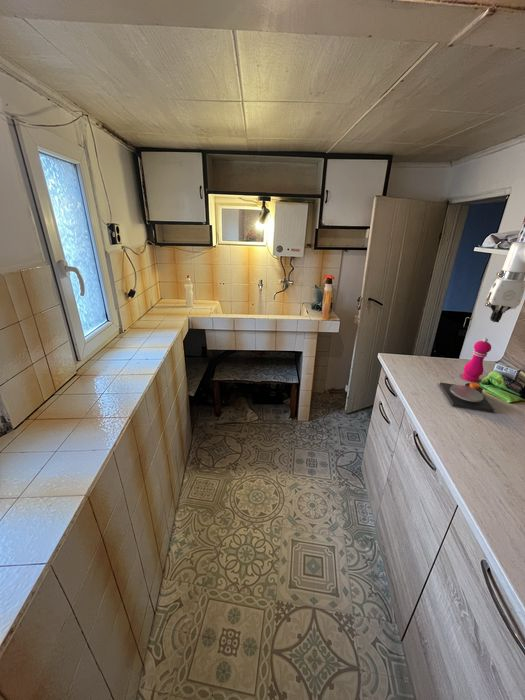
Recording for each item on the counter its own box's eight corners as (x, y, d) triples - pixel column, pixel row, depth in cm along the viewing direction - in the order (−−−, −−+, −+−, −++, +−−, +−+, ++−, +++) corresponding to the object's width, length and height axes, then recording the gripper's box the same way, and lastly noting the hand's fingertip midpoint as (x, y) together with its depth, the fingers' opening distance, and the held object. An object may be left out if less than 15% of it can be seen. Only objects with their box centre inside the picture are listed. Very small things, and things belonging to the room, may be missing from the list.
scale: (476, 390, 120) (479, 384, 118) (494, 413, 105) (498, 406, 104) (439, 385, 123) (441, 379, 121) (452, 406, 108) (454, 399, 107)
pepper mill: (460, 379, 128) (475, 338, 120) (460, 373, 134) (475, 333, 125) (479, 384, 124) (496, 343, 116) (479, 377, 130) (495, 337, 122)
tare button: (476, 386, 118) (477, 382, 117) (479, 390, 115) (481, 386, 114) (467, 385, 118) (469, 381, 117) (471, 389, 115) (472, 385, 115)
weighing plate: (475, 388, 115) (476, 387, 115) (488, 404, 105) (488, 402, 105) (446, 384, 117) (446, 383, 117) (455, 399, 108) (456, 397, 107)
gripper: (495, 276, 107) (478, 322, 114) (540, 279, 104) (520, 326, 111) (485, 273, 113) (470, 316, 121) (528, 276, 110) (509, 320, 118)
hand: (494, 321), depth 116 cm, fingers closed
